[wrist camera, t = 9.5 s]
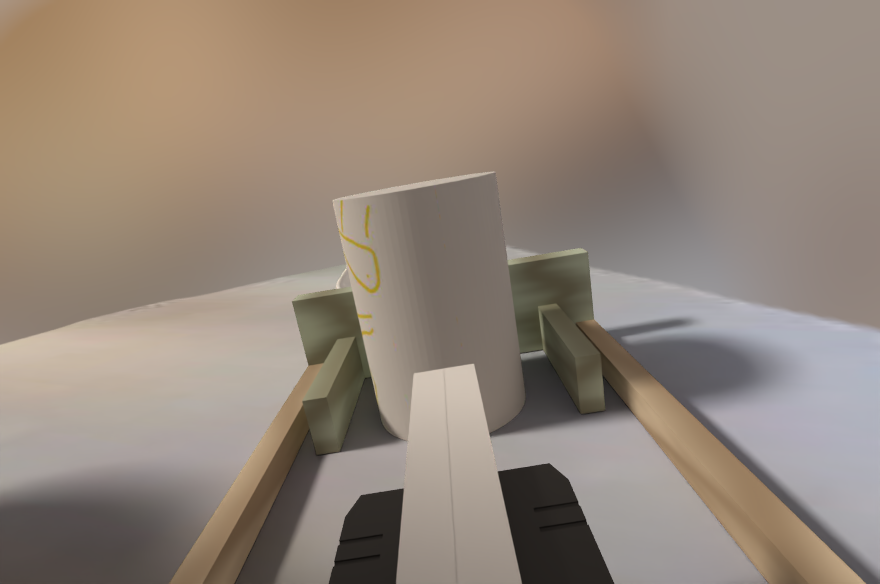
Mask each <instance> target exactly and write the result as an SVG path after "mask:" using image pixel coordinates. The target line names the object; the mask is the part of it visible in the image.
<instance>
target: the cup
mask: <svg viewBox="0 0 880 584" xmlns="http://www.w3.org/2000/svg"><path fill="white" fill-rule="evenodd" d="M332 202H333V207H334V211H335V215H336V220H337V224H338V229H339V233H340V238H341V242H342V247H343V251H344V256H345V260H346V265H347V269H348V274H349V278H350V283H351V287H352V292H353V296H354V301H355V305H356V309H357V314H358V318H359V323H360V327H361V332H362V336H363V341H364V345H365V350H366V354H367V359H368V363H369V368H370V372H371V376H372V381H373V385H374V390H375V394H376V399H377V403H378V408H379V412H380V417H381V421H382V424H383V426H384V428H385V429H386V430H387V431H388V432H389V433H391V434H392V435H394V436H395V437H397V438H400V439H402V440H406V441H408V435H409V423H410V411H411V399H412V387H413V376H414V373H420V372H426V371H432V370H438V369H444V368H450V367H456V366H462V365H468V364H474V366H475V371H476V376H477V380H478V385H479V389H480V394H481V399H482V403H483V408H484V412H485V417H486V421H487V426H488V431H489V433H490V432H493V431H495V430H497V429H499V428H501V427H502V426H504V425H505V424H507V423H508V422H510V421H511V420H512V419H513V418H515V417H516V416H517V415H518V414H519V412H520V411H521V410H522V408H523V406H524V404H525V400H526V394H525V386H524V379H523V371H522V364H521V357H520V349H519V342H518V334H517V327H516V320H515V312H514V305H513V298H512V290H511V283H510V275H509V268H508V261H507V253H506V246H505V238H504V231H503V224H502V217H501V209H500V201H499V194H498V187H497V179H496V173H495V172H484V173H477V174H469V175H463V176H457V177H450V178H444V179H438V180H432V181H426V182H420V183H414V184H409V185H403V186H398V187H392V188H387V189H381V190H376V191H372V192H366V193H361V194H356V195H352V196H347V197H343V198H338V199H334V200H332Z"/></svg>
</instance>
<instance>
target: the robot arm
mask: <svg viewBox="0 0 880 584" xmlns="http://www.w3.org/2000/svg"><path fill="white" fill-rule="evenodd" d="M339 541H340V545H339V546H338V548H337V553H336V557H335V561H334V562H335V566H334V567H333V569H332V573H331V577H330V581H329V584H614V582H613V580H612V577H611V575H610V573H609V570H608V568H607V566H606V564H605V561H604V559H603V557H602V555H601V552H600V550H599V548H598V545H597V543H596V541H595V539H594V536H593V534H592V532H591V530H590V527H589V525H587V522H586V518H585V516H584V514H583V511H582V509H581V507H580V506H579V504H578V500H577V498H576V496H575V493H574V491H573V489H572V486H571V484H570V482H569V480H568V479H567V478H566V477H565V476H564V475H563V474H561V473H560V472H559V471H558V470H557V469H555V468H554V467H553V466H552V465H551V464H549V463H548V464H542V465H536V466H529V467H523V468H517V469H511V470H504V471H498V472H497V467H496V463H495V458H494V453H493V449H492V444H491V440H490V435H489V431H488V426H487V421H486V417H485V412H484V408H483V403H482V399H481V394H480V389H479V385H478V380H477V376H476V371H475V366H474V364H468V365H462V366H456V367H450V368H444V369H438V370H432V371H426V372H420V373H414V376H413V387H412V399H411V411H410V423H409V435H408V447H407V459H406V470H405V482H404V489H397V490H391V491H385V492H378V493H372V494H366V495H361V496H360V497H359V499H358V500H357V502H356V503H355V504H354V506H353V507H352V508H351V510H350V511H349V512H348V514H347V515H346V517H345V520H344V524H343V528H342V532H341V536H340V540H339Z"/></svg>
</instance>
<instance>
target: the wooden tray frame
mask: <svg viewBox="0 0 880 584" xmlns="http://www.w3.org/2000/svg"><path fill="white" fill-rule="evenodd" d="M507 261H508V268H509V275H510V283H511V290H512V298H513V305H514V312H515V320H516V327H517V334H518V342H519V349H520V353H524V352H530V351H536V350H542V349H543V350H544V352H545V353H546V355H547V357H548V359H549V360H550V362H551V364H552V365H553V367H554V369H555V371H556V372H557V374H558V376H559V377H560V379H561V381H562V383H563V384H564V386H565V388H566V389H567V391H568V393H569V395H570V396H571V398H572V400H573V401H574V403H575V405H576V407H577V408H578V410H579V412H580V413H581V414H585V413H591V412H598V411H604V410H605V400H604V389H603V377H602V375H603V376H604V377H605V379H606V380H607V381H608V382H609V384H610V385H611V386H612V387H613V389H614V390H615V391H616V392H617V394H618V395H619V396H620V397H621V399H622V400H623V401H624V402H625V404H626V405H627V406H628V407H629V409H630V410H631V411H632V412H633V414H634V415H635V416H636V417H637V419H638V420H639V421H640V422H641V424H642V425H643V426H644V427H645V429H646V430H647V431H648V432H649V434H650V435H651V436H652V437H653V439H654V440H655V441H656V443H657V444H658V445H659V446H660V448H661V449H662V450H663V451H664V453H665V454H666V455H667V456H668V458H669V459H670V460H671V461H672V463H673V464H674V465H675V466H676V468H677V469H678V470H679V471H680V473H681V474H682V475H683V476H684V478H685V479H686V480H687V481H688V483H689V484H690V485H691V486H692V488H693V489H694V490H695V491H696V493H697V494H698V495H699V496H700V498H701V499H702V500H703V501H704V503H705V504H706V505H707V506H708V508H709V509H710V510H711V511H712V513H713V514H714V515H715V517H716V518H717V519H718V520H719V522H720V523H721V524H722V525H723V527H724V528H725V529H726V530H727V532H728V533H729V534H730V535H731V537H732V538H733V539H734V540H735V542H736V543H737V544H738V545H739V547H740V548H741V549H742V550H743V552H744V553H745V554H746V555H747V557H748V558H749V559H750V560H751V562H752V563H753V564H754V565H755V567H756V568H757V569H758V570H759V572H760V573H761V574H762V575H763V577H764V578H765V579H766V580H767V582H768V583H769V584H866V583H865V582H864V581H863V580H862V579H861V578H860V577H859V576H858V575H857V574H856V573H855V572H854V571H853V570H852V569H851V568H849V567H848V566H847V565H846V564H845V563H844V562H843V561H842V560H841V559H840V558H839V557H838V556H837V555H836V554H835V553H834V552H833V551H832V550H831V549H830V548H829V547H828V546H827V545H826V544H825V543H824V542H823V541H822V540H821V539H820V538H819V537H818V536H817V535H815V534H814V533H813V532H812V531H811V530H810V529H809V528H808V527H807V526H806V525H805V524H804V523H803V522H802V521H801V520H800V519H799V518H798V517H797V516H796V515H795V514H794V513H793V512H792V511H791V510H790V509H789V508H788V507H787V506H786V505H785V504H784V503H783V502H781V501H780V500H779V499H778V498H777V497H776V496H775V495H774V494H773V493H772V492H771V491H770V490H769V489H768V488H767V487H766V486H765V485H764V484H763V483H762V482H761V481H760V480H759V479H758V478H757V477H756V476H755V475H754V474H753V473H752V472H751V471H750V470H749V469H748V468H746V467H745V466H744V465H743V464H742V463H741V462H740V461H739V460H738V459H737V458H736V457H735V456H734V455H733V454H732V453H731V452H730V451H729V450H728V449H727V448H726V447H725V446H724V445H723V444H722V443H721V442H720V441H719V440H718V439H717V438H716V437H715V436H714V435H712V434H711V433H710V432H709V431H708V430H707V429H706V428H705V427H704V426H703V425H702V424H701V423H700V422H699V421H698V420H697V419H696V418H695V417H694V416H693V415H692V414H691V413H690V412H689V411H688V410H687V409H686V408H685V407H684V406H683V405H682V404H681V403H680V402H678V401H677V400H676V399H675V398H674V397H673V396H672V395H671V394H670V393H669V392H668V391H667V390H666V389H665V388H664V387H663V386H662V385H661V384H660V383H659V382H658V381H657V380H656V379H655V378H654V377H653V376H652V375H651V374H650V373H649V372H648V371H647V370H646V369H645V368H643V367H642V366H641V365H640V364H639V363H638V362H637V361H636V360H635V359H634V358H633V357H632V356H631V355H630V354H629V353H628V352H627V351H626V350H625V349H624V348H623V347H622V346H621V345H620V344H619V343H618V342H617V341H616V340H615V339H614V338H613V337H612V336H611V335H609V334H608V333H607V332H606V331H605V330H604V329H603V328H602V327H601V326H600V325H599V324H598V323H597V322H596V321H595V320H594V314H593V303H592V292H591V281H590V270H589V259H588V252H587V251H585V250H583V249H582V248H579V249H572V250H566V251H561V252H555V253H548V254H542V255H536V256H530V257H524V258H518V259H512V260H507ZM292 303H293V307H294V311H295V315H296V319H297V323H298V327H299V331H300V334H301V338H302V342H303V346H304V350H305V354H306V358H307V361H308V365H309V366H308V367H307V369H306V371H305V372H304V374H303V375H302V377H301V378H300V380H299V381H298V383H297V385H296V386H295V388H294V389H293V391H292V392H291V394H290V395H289V397H288V399H287V400H286V402H285V403H284V405H283V406H282V408H281V410H280V411H279V413H278V414H277V416H276V417H275V419H274V420H273V422H272V424H271V425H270V427H269V428H268V430H267V431H266V433H265V434H264V436H263V438H262V439H261V441H260V442H259V444H258V445H257V447H256V449H255V450H254V452H253V453H252V455H251V456H250V458H249V459H248V461H247V463H246V464H245V466H244V467H243V469H242V470H241V472H240V473H239V475H238V477H237V478H236V480H235V481H234V483H233V484H232V486H231V487H230V489H229V491H228V492H227V494H226V495H225V497H224V498H223V500H222V502H221V503H220V505H219V506H218V508H217V509H216V511H215V512H214V514H213V516H212V517H211V519H210V520H209V522H208V523H207V525H206V526H205V528H204V530H203V531H202V533H201V534H200V536H199V537H198V539H197V540H196V542H195V544H194V545H193V547H192V548H191V550H190V551H189V553H188V555H187V556H186V558H185V559H184V561H183V562H182V564H181V565H180V567H179V569H178V570H177V572H176V573H175V575H174V576H173V578H172V579H171V581H170V583H169V584H234V583H235V581H236V579H237V577H238V575H239V573H240V571H241V569H242V567H243V565H244V563H245V561H246V558H247V556H248V554H249V552H250V550H251V548H252V546H253V544H254V542H255V540H256V538H257V536H258V534H259V532H260V530H261V528H262V525H263V523H264V521H265V519H266V517H267V515H268V513H269V511H270V509H271V507H272V505H273V503H274V501H275V499H276V497H277V494H278V492H279V490H280V488H281V486H282V484H283V482H284V480H285V478H286V476H287V474H288V472H289V470H290V468H291V466H292V464H293V461H294V459H295V457H296V455H297V453H298V451H299V449H300V447H301V445H302V443H303V441H304V439H305V437H306V435H307V433H308V430H309V429H310V433H311V436H312V440H313V444H314V447H315V451H316V455H320V454H327V453H333V452H339V451H340V450H341V447H342V444H343V441H344V438H345V436H346V433H347V430H348V427H349V424H350V421H351V418H352V415H353V412H354V409H355V406H356V403H357V400H358V397H359V394H360V391H361V388H362V385H363V382H364V379H365V378H368V377H372V376H371V372H370V368H369V363H368V359H367V354H366V350H365V345H364V341H363V336H362V332H361V327H360V323H359V318H358V314H357V309H356V305H355V301H354V296H353V292H352V287H345V288H339V289H333V290H327V291H321V292H315V293H309V294H303V295H298V296H297V297H296V298H295V299H294V300H293V301H292Z"/></svg>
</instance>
